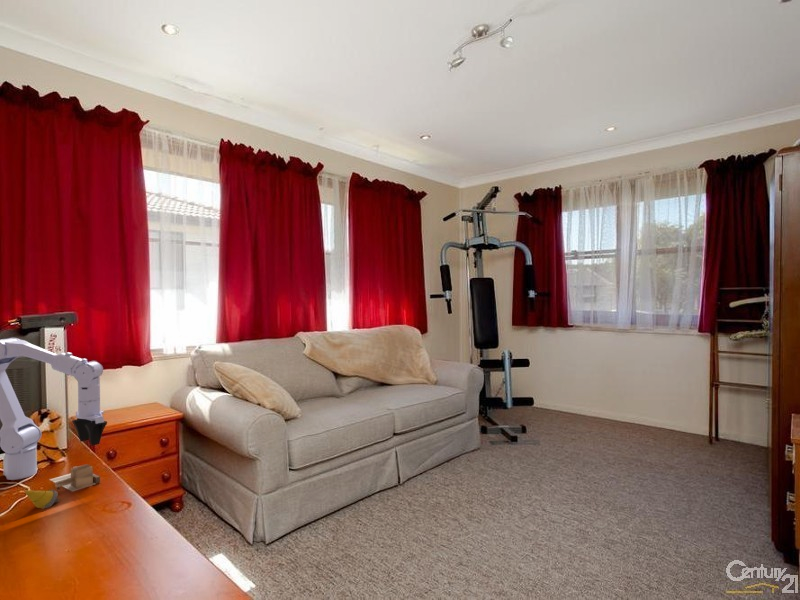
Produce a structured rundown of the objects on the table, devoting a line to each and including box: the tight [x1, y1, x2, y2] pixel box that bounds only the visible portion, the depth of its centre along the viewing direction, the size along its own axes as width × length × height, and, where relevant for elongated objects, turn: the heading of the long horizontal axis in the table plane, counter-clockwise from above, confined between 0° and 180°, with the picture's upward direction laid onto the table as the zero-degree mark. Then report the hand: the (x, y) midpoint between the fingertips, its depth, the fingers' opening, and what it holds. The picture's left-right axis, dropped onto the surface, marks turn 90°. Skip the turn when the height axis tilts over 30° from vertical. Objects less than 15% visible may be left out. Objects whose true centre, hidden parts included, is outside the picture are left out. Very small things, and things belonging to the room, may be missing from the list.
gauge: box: [54, 463, 94, 491], centre depth 126 cm, size 4×8×5 cm, turn 147°
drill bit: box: [23, 489, 61, 512], centre depth 114 cm, size 5×5×10 cm
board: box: [49, 465, 101, 493], centre depth 130 cm, size 16×7×3 cm, turn 57°
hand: (89, 442), depth 139 cm, fingers open, 7 cm apart
